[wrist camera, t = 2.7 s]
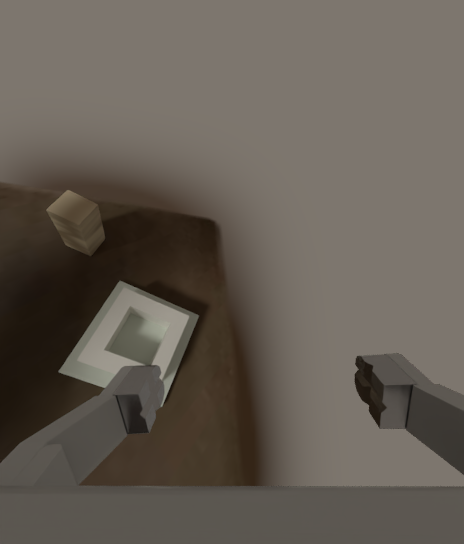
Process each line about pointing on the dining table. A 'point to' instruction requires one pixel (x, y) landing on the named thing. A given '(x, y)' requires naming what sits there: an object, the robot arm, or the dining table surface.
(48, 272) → the dining table surface
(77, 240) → the tan tall wooden block
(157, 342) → the white socket base
